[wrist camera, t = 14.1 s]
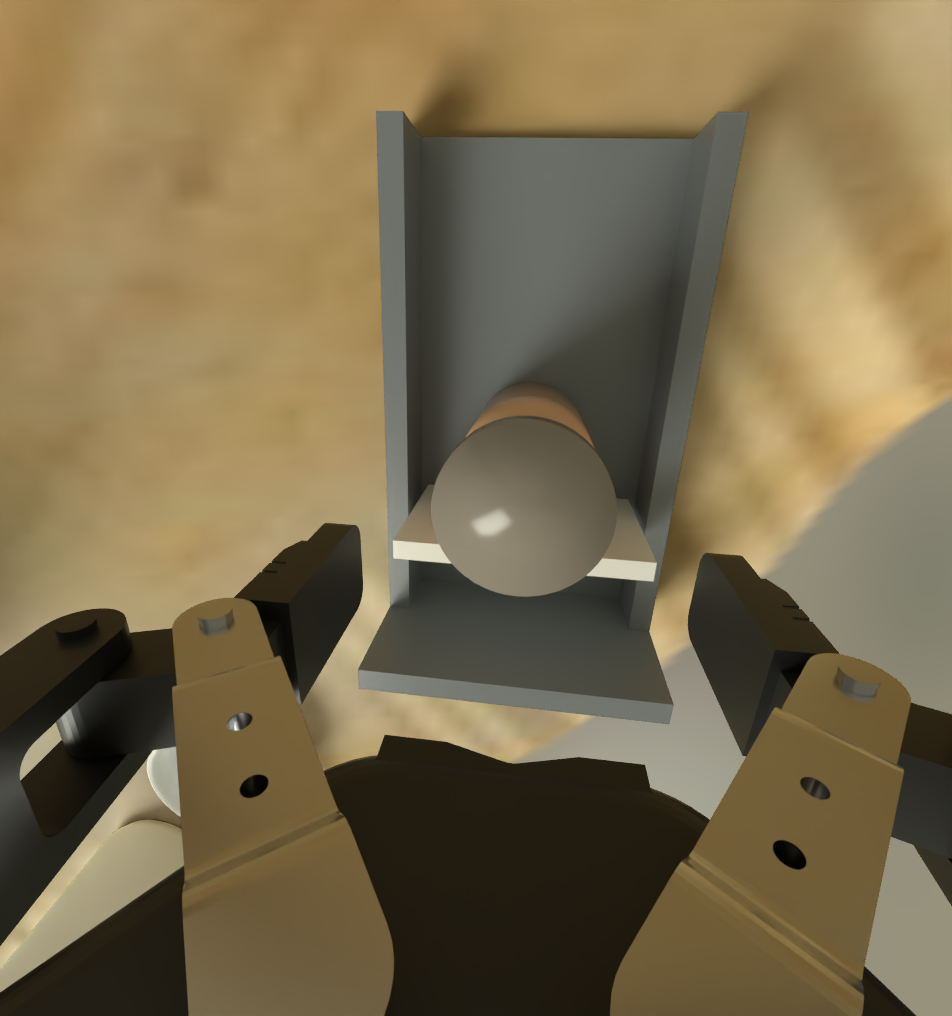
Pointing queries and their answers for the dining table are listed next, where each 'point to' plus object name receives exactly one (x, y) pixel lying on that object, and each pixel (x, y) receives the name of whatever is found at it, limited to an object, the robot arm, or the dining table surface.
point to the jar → (525, 496)
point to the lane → (542, 381)
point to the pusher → (620, 561)
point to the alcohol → (100, 891)
